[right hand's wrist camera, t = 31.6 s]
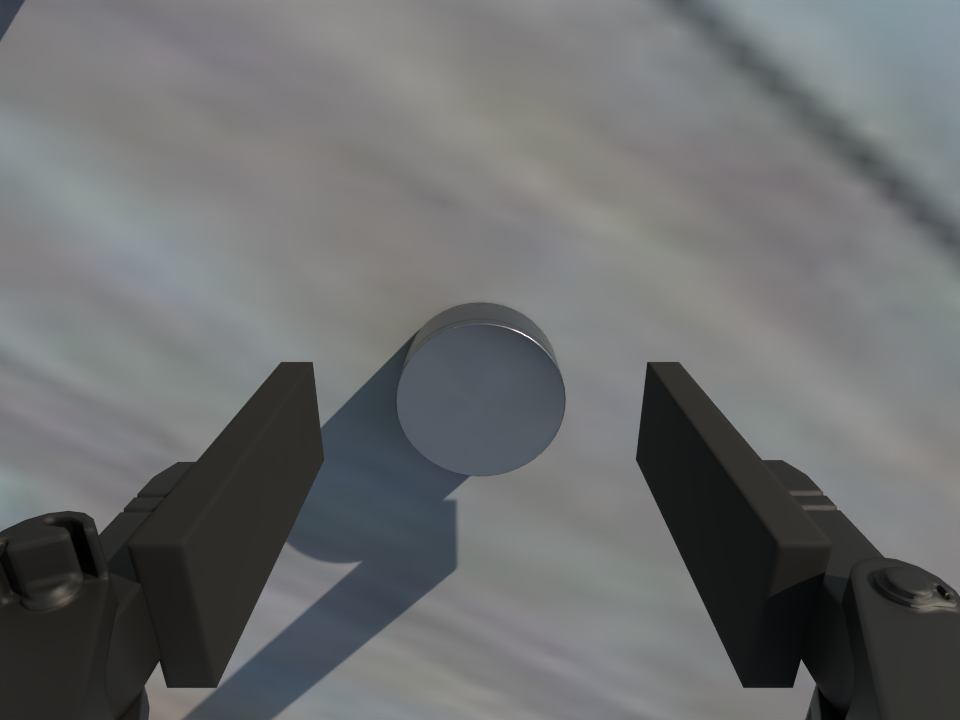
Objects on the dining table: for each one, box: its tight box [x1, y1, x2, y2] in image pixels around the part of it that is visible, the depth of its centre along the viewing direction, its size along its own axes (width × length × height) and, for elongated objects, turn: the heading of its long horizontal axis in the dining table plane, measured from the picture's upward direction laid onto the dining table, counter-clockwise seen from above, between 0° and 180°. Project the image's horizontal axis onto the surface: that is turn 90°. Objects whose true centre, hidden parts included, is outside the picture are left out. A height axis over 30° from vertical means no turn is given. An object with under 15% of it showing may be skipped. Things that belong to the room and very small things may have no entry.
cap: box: [396, 303, 566, 476], centre depth 15 cm, size 4×4×2 cm
